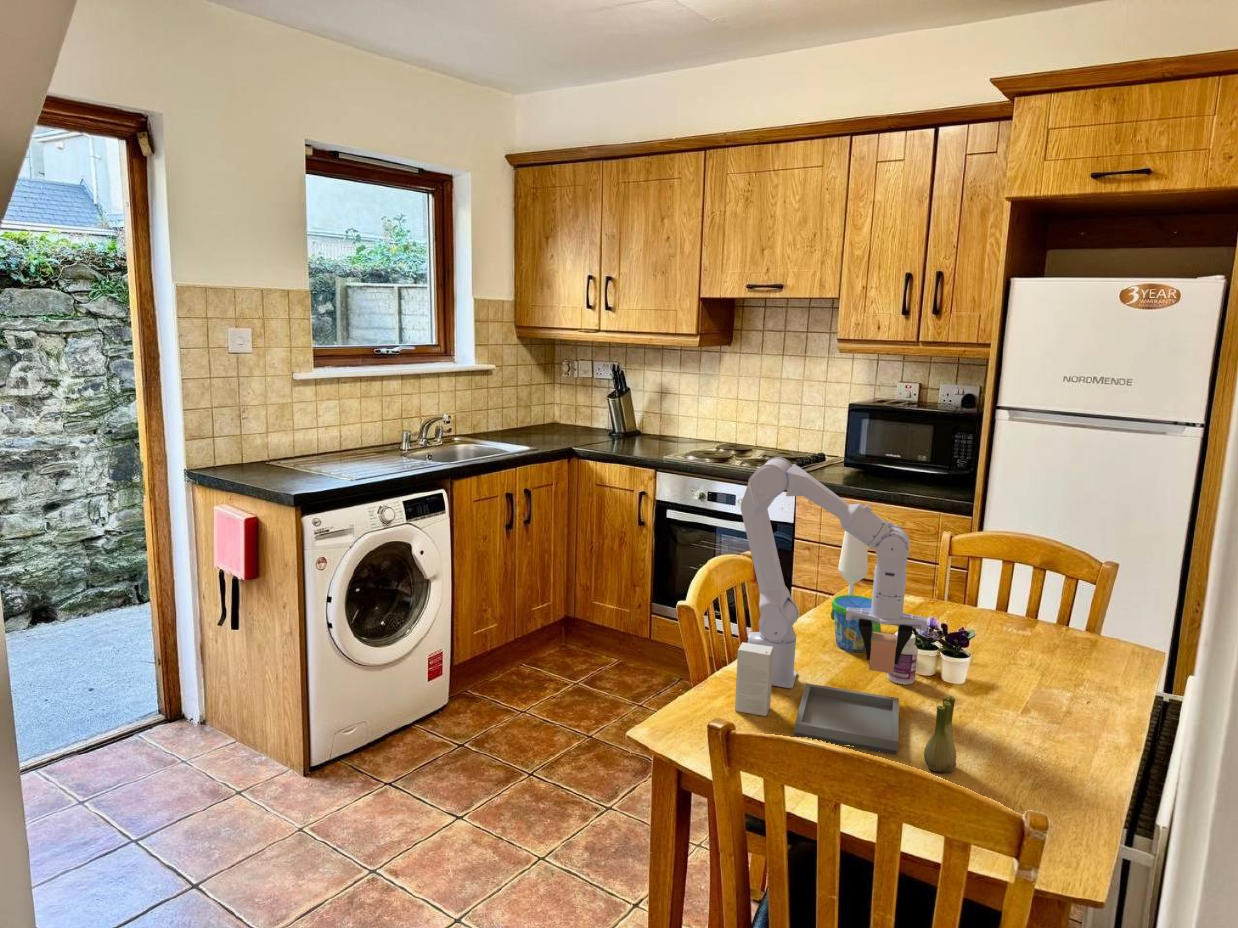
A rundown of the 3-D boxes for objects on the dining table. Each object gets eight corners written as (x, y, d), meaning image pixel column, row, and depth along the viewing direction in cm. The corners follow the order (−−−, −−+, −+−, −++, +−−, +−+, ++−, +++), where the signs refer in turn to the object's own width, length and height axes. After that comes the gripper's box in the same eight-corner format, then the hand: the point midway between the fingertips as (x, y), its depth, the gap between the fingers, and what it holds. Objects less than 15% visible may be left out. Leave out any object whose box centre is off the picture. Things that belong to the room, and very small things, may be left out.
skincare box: (770, 707, 159) (774, 646, 156) (766, 717, 155) (771, 655, 153) (738, 701, 161) (741, 641, 158) (733, 711, 157) (737, 649, 154)
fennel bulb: (935, 778, 136) (943, 708, 134) (913, 763, 141) (920, 695, 138) (963, 771, 139) (971, 702, 136) (940, 756, 143) (948, 689, 141)
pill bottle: (916, 686, 169) (921, 641, 167) (888, 683, 170) (892, 638, 168) (912, 675, 174) (917, 630, 173) (885, 672, 175) (890, 628, 174)
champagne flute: (857, 629, 198) (866, 529, 194) (829, 622, 202) (837, 524, 198) (866, 621, 204) (875, 523, 200) (839, 614, 208) (847, 518, 203)
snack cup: (894, 659, 182) (898, 614, 180) (848, 662, 180) (853, 616, 178) (857, 631, 197) (861, 589, 195) (815, 634, 195) (819, 591, 193)
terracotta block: (868, 669, 162) (871, 639, 160) (869, 660, 166) (872, 631, 165) (893, 673, 160) (896, 643, 159) (893, 664, 164) (896, 635, 163)
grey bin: (793, 736, 148) (794, 723, 148) (804, 695, 164) (805, 682, 164) (896, 755, 143) (898, 741, 143) (897, 710, 159) (898, 698, 158)
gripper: (847, 593, 159) (841, 661, 161) (930, 604, 154) (922, 674, 157) (849, 581, 165) (843, 648, 168) (929, 592, 161) (922, 659, 163)
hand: (882, 659), depth 163 cm, fingers closed on terracotta block, 4 cm apart
